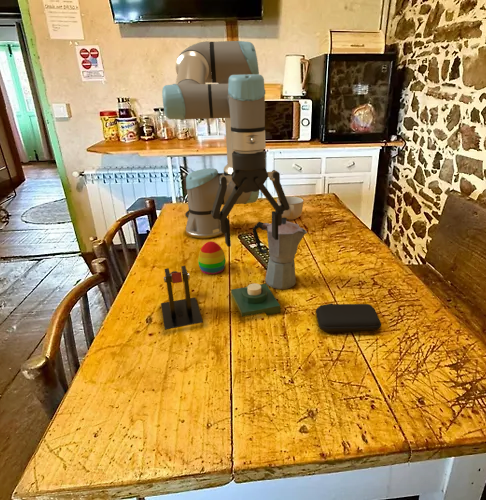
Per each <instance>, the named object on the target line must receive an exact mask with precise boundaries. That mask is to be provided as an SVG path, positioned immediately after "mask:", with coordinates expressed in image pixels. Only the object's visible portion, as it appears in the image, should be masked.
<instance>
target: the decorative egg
mask: <svg viewBox="0 0 486 500" xmlns="http://www.w3.org/2000/svg"><path fill="white" fill-rule="evenodd" d="M197 257H198V258H197V263H198V266H199V269H200V271H201V272H202V273H203V274H206V275H217V274H220V273H222V272H223V271H224V270H225V267H226V263H227V262H226V260H227V259H226V255H225V252H224V250H223V249H222V247H221V245H219V243H217V242H215V241H212V240H210V241H207V242H205V243H204V244H203V245H202V246H201V248H200V250H199V252H198V256H197Z"/></svg>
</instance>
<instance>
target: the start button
mask: <svg viewBox="0 0 486 500" xmlns="http://www.w3.org/2000/svg"><path fill="white" fill-rule="evenodd" d="M247 286H248V287H247ZM247 286H246V287H247V291H248V294H249V295H253V296H256V295H260V294H261V285H260V283H255V282H254V283H253V282H252V283H250V284H248V285H247Z"/></svg>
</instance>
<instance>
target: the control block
mask: <svg viewBox="0 0 486 500" xmlns="http://www.w3.org/2000/svg"><path fill="white" fill-rule="evenodd" d="M259 284H260V283H259ZM260 285H261V294H260V295H256V296H253V295H249V294H248V291H247V287H248V285H247V286H244V287H243V286H242V287H239V288H233V289H232V288H231V289H230V295H231V297H232V299H233V301H234V303H235V305H236V307H237V309H238V312H239V313H240V315H241V317H242V318H245V317H249V316H256V315H260V314H266V316H271V315H276V314H280V313H281V304H280V303H279V301H278V299H277V298H276V297H275V295H274V293H273V292H272V291H271V289H270V288H269V285H267V283H261V284H260Z"/></svg>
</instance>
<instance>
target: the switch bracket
mask: <svg viewBox="0 0 486 500" xmlns="http://www.w3.org/2000/svg"><path fill="white" fill-rule="evenodd" d="M180 267H181V276H182V284H183V293H184V298H183V299H175V300H174V294H173V293H174V291H173V286H172V282H171V277H170V273H171V272H170V268H168V267H166V268H164V276H163V281H164V283H166V289H167V290H166V291H167V296H168V301H166V302H160V306H161V313H162V318H163V326H164V327H163V328H164V330H165V331H166V330H171V329H176V328H177V329H178V328H181V327H182V328H183V327H187V326H191V325H197V324H202V323H204V320H203V318H202V314H201V311H200V308H199V304H198V301H197V297H196V296H194V297H193V296H192V297H191V291H190V283H189V279H190V278H191V276H190V273H189V272H188V270H187V267H186V265H181V266H180Z"/></svg>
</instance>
